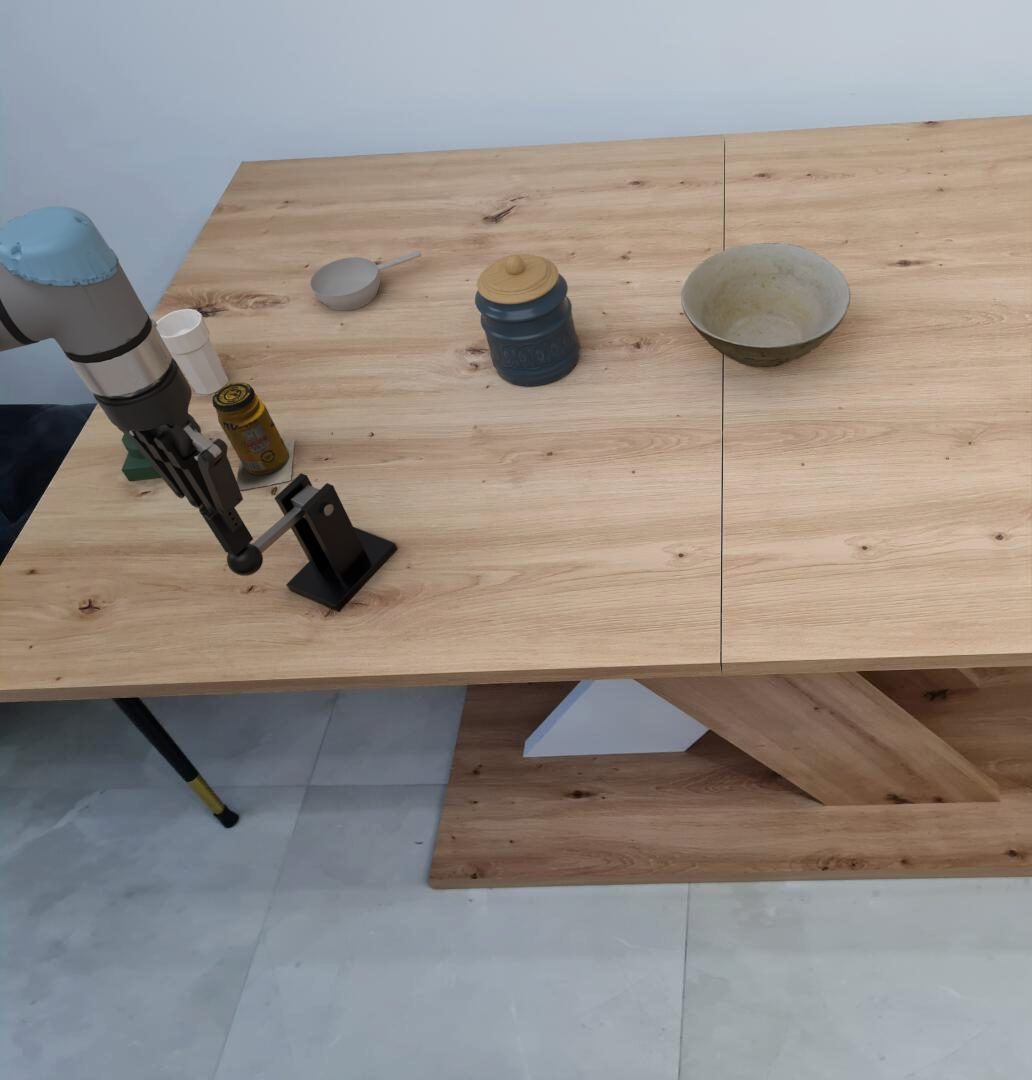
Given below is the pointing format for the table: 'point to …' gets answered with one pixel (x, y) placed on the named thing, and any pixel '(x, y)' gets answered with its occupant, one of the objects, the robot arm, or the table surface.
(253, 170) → the table surface
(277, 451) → the condiment
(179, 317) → the cup
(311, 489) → the ball lever handle
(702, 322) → the bowl
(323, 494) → the lever base
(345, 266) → the saucepan
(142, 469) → the control block
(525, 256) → the canister
